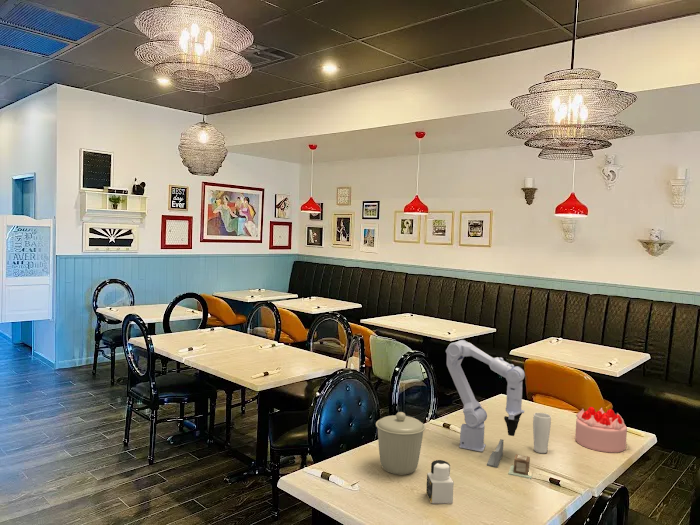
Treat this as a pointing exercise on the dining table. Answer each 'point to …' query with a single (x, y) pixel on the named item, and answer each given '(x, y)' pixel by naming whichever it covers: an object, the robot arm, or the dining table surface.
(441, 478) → the medicine bottle
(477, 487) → the dining table surface
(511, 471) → the pad
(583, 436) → the cake
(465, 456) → the dining table surface
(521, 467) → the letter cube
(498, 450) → the grey block
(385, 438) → the canister
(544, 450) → the beige paper cup
